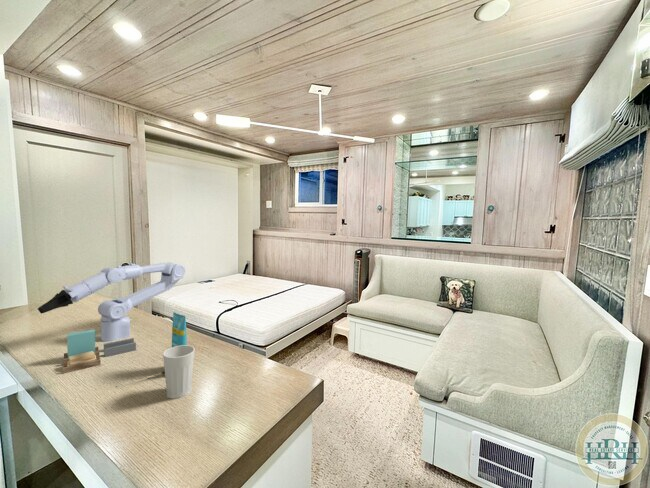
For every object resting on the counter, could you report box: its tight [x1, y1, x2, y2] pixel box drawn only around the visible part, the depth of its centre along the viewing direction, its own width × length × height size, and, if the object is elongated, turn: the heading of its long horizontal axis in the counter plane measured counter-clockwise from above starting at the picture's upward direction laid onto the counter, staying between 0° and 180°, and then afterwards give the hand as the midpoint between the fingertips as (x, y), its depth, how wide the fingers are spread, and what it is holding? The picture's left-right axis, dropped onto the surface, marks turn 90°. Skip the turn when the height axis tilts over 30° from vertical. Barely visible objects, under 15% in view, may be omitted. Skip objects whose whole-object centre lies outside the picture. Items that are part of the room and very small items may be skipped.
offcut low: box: [67, 355, 96, 367], centre depth 91 cm, size 7×4×2 cm, turn 132°
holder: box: [103, 337, 137, 358], centre depth 102 cm, size 9×7×4 cm
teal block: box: [66, 329, 96, 358], centre depth 95 cm, size 7×3×9 cm, turn 132°
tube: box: [171, 311, 188, 348], centre depth 90 cm, size 7×5×19 cm, turn 60°
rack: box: [62, 346, 101, 375], centre depth 93 cm, size 9×13×3 cm
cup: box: [162, 344, 196, 400], centre depth 80 cm, size 8×8×12 cm
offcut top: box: [69, 351, 95, 365], centre depth 91 cm, size 6×3×2 cm, turn 140°
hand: (40, 310), depth 94 cm, fingers open, 7 cm apart
